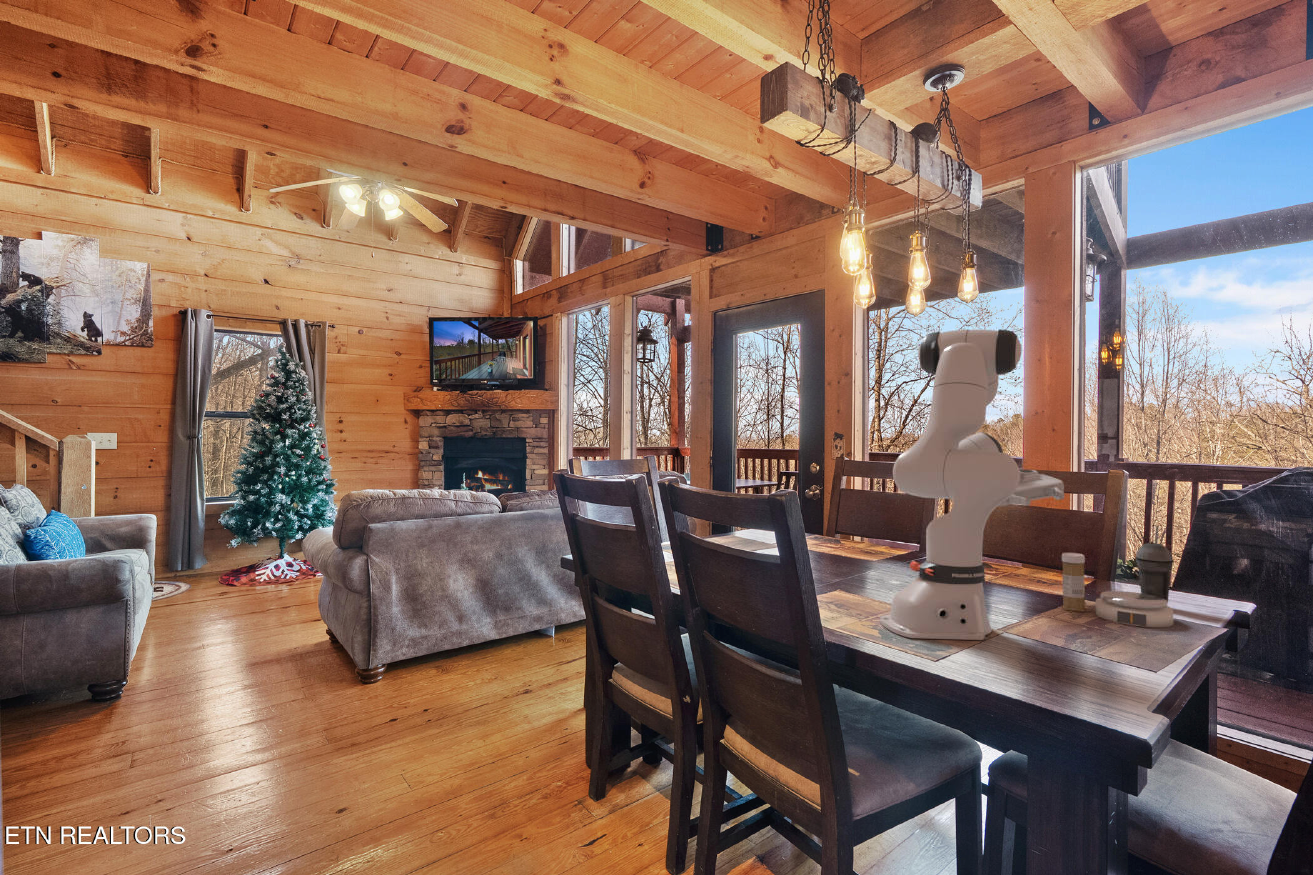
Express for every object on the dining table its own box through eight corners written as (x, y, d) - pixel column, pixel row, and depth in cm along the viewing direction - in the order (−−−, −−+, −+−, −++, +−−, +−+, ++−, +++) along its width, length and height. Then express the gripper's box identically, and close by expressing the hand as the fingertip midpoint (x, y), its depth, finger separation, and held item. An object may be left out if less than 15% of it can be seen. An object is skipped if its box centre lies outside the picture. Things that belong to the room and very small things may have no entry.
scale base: (1130, 628, 132) (1130, 614, 132) (1080, 610, 146) (1080, 597, 146) (1190, 626, 133) (1190, 612, 133) (1135, 608, 147) (1135, 596, 147)
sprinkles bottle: (1083, 608, 148) (1083, 552, 148) (1086, 613, 144) (1085, 556, 144) (1061, 606, 150) (1060, 551, 150) (1063, 610, 146) (1062, 554, 146)
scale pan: (1131, 609, 133) (1131, 605, 133) (1087, 595, 145) (1087, 591, 145) (1182, 608, 134) (1181, 603, 134) (1134, 594, 146) (1134, 590, 146)
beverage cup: (1160, 603, 152) (1159, 523, 152) (1182, 611, 145) (1181, 527, 145) (1128, 602, 153) (1127, 522, 153) (1149, 610, 145) (1148, 526, 146)
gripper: (971, 480, 165) (1006, 494, 152) (1039, 468, 168) (1080, 480, 154) (971, 503, 166) (1007, 518, 153) (1039, 490, 169) (1080, 504, 155)
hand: (1044, 499), depth 154 cm, fingers open, 8 cm apart
